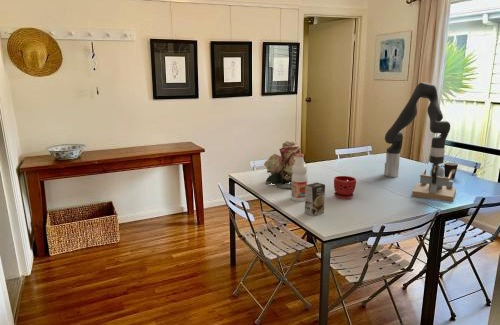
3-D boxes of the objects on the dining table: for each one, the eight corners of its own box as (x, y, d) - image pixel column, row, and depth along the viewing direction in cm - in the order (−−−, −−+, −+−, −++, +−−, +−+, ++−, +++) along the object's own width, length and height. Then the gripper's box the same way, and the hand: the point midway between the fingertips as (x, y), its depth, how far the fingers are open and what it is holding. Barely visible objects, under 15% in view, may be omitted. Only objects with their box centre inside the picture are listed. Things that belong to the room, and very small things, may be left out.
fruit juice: (294, 195, 228) (295, 152, 222) (309, 198, 224) (310, 153, 217) (288, 200, 220) (289, 155, 214) (303, 202, 216) (304, 156, 209)
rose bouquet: (260, 185, 251) (259, 142, 244) (285, 176, 272) (285, 136, 265) (290, 193, 234) (290, 147, 227) (315, 182, 255) (316, 140, 248)
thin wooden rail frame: (419, 182, 224) (420, 174, 222) (423, 176, 238) (424, 168, 236) (448, 186, 215) (449, 178, 214) (451, 179, 229) (452, 171, 228)
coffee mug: (455, 176, 264) (457, 162, 261) (456, 179, 256) (458, 165, 254) (437, 174, 269) (439, 161, 266) (438, 177, 261) (439, 164, 259)
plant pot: (351, 201, 216) (352, 182, 213) (330, 198, 223) (331, 179, 220) (358, 195, 227) (359, 176, 224) (337, 192, 234) (338, 174, 231)
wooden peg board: (412, 195, 225) (414, 169, 221) (417, 186, 242) (420, 162, 238) (452, 201, 213) (455, 174, 209) (455, 191, 230) (458, 166, 226)
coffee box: (313, 216, 195) (313, 187, 191) (304, 213, 200) (305, 184, 196) (324, 212, 200) (325, 184, 196) (316, 209, 205) (316, 181, 201)
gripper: (431, 152, 223) (428, 179, 227) (428, 156, 212) (425, 185, 216) (445, 153, 219) (442, 181, 223) (442, 157, 208) (439, 186, 212)
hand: (434, 182), depth 220 cm, fingers closed on thin wooden rail frame, 1 cm apart
